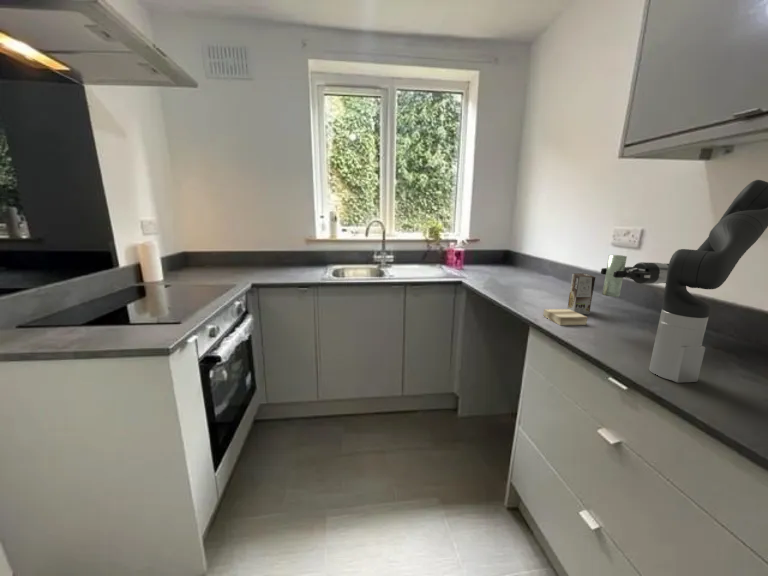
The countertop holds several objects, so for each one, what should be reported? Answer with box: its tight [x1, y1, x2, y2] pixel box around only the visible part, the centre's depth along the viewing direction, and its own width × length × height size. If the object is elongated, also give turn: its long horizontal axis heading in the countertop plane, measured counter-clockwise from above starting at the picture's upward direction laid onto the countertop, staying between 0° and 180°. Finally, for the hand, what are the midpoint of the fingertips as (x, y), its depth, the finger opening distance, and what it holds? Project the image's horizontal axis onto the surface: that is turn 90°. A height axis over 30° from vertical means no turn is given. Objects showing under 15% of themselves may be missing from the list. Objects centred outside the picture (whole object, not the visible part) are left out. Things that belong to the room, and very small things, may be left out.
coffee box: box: [567, 272, 596, 315], centre depth 149 cm, size 9×6×16 cm
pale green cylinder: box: [601, 254, 628, 298], centre depth 121 cm, size 5×5×14 cm
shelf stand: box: [542, 308, 589, 326], centre depth 137 cm, size 11×11×3 cm
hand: (608, 272), depth 121 cm, fingers closed on pale green cylinder, 5 cm apart
